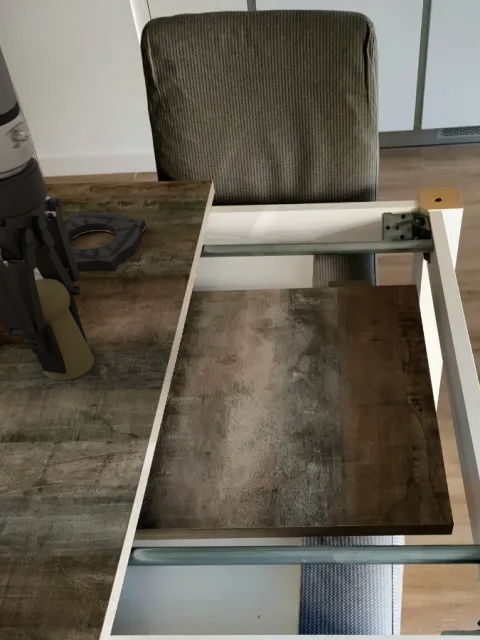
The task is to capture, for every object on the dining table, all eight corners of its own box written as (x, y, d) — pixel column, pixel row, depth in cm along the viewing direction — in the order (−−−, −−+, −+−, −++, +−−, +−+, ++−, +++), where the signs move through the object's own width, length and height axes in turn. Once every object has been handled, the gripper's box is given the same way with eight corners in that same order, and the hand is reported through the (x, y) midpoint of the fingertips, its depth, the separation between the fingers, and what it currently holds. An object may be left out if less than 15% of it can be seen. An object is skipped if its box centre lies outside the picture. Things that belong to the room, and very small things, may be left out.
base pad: (26, 265, 94) (23, 255, 93) (71, 217, 104) (69, 208, 103) (118, 275, 92) (115, 266, 91) (155, 225, 102) (153, 216, 101)
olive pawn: (34, 361, 79) (1, 284, 71) (80, 341, 82) (54, 264, 74) (55, 387, 76) (24, 309, 68) (103, 365, 79) (78, 287, 71)
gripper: (-22, 213, 55) (60, 411, 72) (74, 129, 67) (125, 316, 83) (-102, 204, 56) (-3, 402, 73) (7, 124, 68) (70, 309, 85)
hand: (65, 355), depth 78 cm, fingers open, 4 cm apart
